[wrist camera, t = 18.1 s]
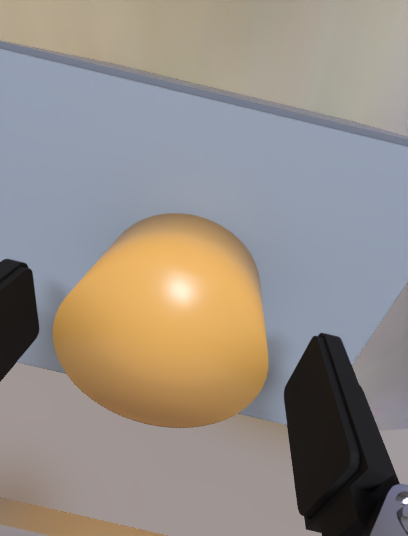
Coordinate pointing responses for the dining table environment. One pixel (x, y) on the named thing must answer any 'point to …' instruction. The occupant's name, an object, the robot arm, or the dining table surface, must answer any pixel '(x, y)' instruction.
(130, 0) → the dining table surface
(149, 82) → the storage box
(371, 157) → the lid
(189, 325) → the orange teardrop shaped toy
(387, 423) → the dining table surface
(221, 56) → the dining table surface
